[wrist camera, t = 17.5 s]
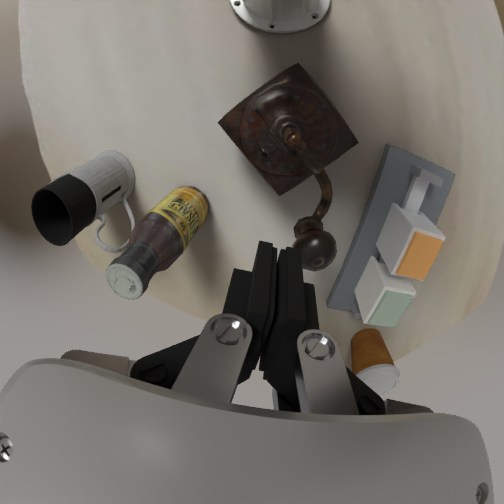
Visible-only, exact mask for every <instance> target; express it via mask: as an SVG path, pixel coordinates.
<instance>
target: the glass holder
mask: <svg viewBox="0 0 504 504" xmlns="http://www.w3.org/2000/svg"><path fill="white" fill-rule="evenodd" d="M134 185H135V173H134V170H133V167H132V165H131V163H130V161H129V160H128V159H127V158H126V157H125V156H124V155H123V154H122V153H120V152H117V151H114V150H108V151H104V152H102V153H100V154H99V155H98V156H97V157H96V158H95V159H93V160H91V161H89V162H87V163H85V164H83V165H81V166H79V167H77V168H75V169H73V170H71V171H69V172H67V173H65V174H63V175H62V176H60V177H58V178H56V179H54V180H53V181H52V182H51V183H49V184H48V185H47V186H45V187H43V188H41V189H40V190H38V191H37V192H36V193H35V195H34V196H33V199H32V205H31V208H32V216H33V220H34V223H35V225H36V227H37V229H38V230H39V232H40V233H41V235H42V236H43V237H44V238H45V239H46V240H47V241H49V242H50V243H52V244H54V245H57V246H63V245H65V244H67V243H68V242H69V241H70V240H71V239H73V238H74V237H75V236H76V235H77V234H78V233H79V232H80V231H82V230H83V229H84V228H85V227H87V226H89V225H90V224H92V223H93V222H94V221H95V220H96V219H99V220H101V222H102V223H101V224H100V225H99V226H98V228H97V229H96V232H95V241H96V243H97V245H98V246H99V247H100V248H102V249H104V250H105V251H108V252H113V253H117V252H121V251H122V250H124V249H125V248H126V247H127V246H128V244H129V239H128V240H127V242H126V243H125V244H124V245H123V246H121V247H117V248H116V247H110V246H108V245H106V244H104V243H103V242H102V241H101V240H100V239H99V236H98V232H99V231H100V230H101V229H102V228H103V226H104V225H105V218H104V217H103V216H102V214H104V213H105V212H106V211H107V210H108V209H110V208H111V207H112V206H113V205H115V204H116V203H117V202H121V201H123V204H124V206H125V208H126V210H127V212H128V215H129V217H130V220H131V226H132V229H131V231H132V230H133V228H134V226H135V219H134V216H133V213H132V211H131V209H130V207H129V204H128V202H127V200H126V199H127V198H128V197H129V196H130V195H131V193H132V191H133V189H134Z"/></svg>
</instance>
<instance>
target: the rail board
mask: <svg viewBox="0 0 504 504" xmlns="http://www.w3.org/2000/svg"><path fill="white" fill-rule="evenodd" d="M454 177H455V174H453V173H452V172H450V171H448V170H446V169H444V168H442V167H440V166H438V165H436V164H434V163H431V162H429V161H427V160H425V159H423V158H420V157H418V156H416V155H413V154H411V153H409V152H406V151H404V150H401V149H399V148H396V147H394V146H391V145H388V144H386V147H385V150H384V154H383V157H382V160H381V163H380V166H379V170H378V173H377V176H376V179H375V182H374V185H373V188H372V190H371V193H370V196H369V199H368V202H367V205H366V207H365V210H364V213H363V215H362V218H361V221H360V223H359V226H358V229H357V231H356V234H355V236H354V239H353V241H352V244H351V246H350V249H349V251H348V254H347V256H346V258H345V261H344V263H343V266H342V268H341V270H340V273H339V275H338V277H337V279H336V282H335V284H334V286H333V288H332V291H331V293H330V295H329V297H328V299H327V301H326V302H327V307H329V308H334V309H340V310H346V311H352V312H353V317H354V318H357V319H362V320H363V323H365V324H370V325H377V326H385V327H393V328H394V327H395V325H396V324H397V322H398V321H399V319H400V318H401V316H402V315H403V313H404V312H405V310H406V309H407V307H408V306H409V304H410V302H411V301H412V299H413V297H414V296H415V294H416V291H415V289H414V287H413V285H412V283H411V282H410V280H409V278H406V277H401V276H397V275H392V274H390V272H389V270H388V268H387V266H386V264H385V262H384V260H383V258H382V256H381V254H380V252H379V250H378V248H377V246H376V242H377V240H378V238H379V235H380V233H381V231H382V228H383V226H384V223H385V221H386V218H387V216H388V213H389V211H390V208H391V205H392V203H396V204H398V205H399V207H400V208H402V209H405V210H408V211H411V212H414V213H417V214H418V212H422V213H424V214H425V215H426V217H427V218H428V219H429V220H430V221H431V222H432V223H433V224H434V225H435V224H436V222H437V220H438V218H439V215H440V213H441V211H442V208H443V206H444V203H445V201H446V198H447V196H448V193H449V191H450V188H451V185H452V183H453V180H454Z"/></svg>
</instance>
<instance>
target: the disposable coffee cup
mask: <svg viewBox="0 0 504 504" xmlns="http://www.w3.org/2000/svg"><path fill="white" fill-rule="evenodd" d="M351 347H352V372H353V373H354V374H355V375H356V376H357V377H358V378H359V379H361V380H362V381H363V382H364V383H365V384H366V385H368V386H369V387H370V388H371V389H372V390H373V391H375V392H376V393H377V394H378V395H379V396H381V395H384V394H386V393H388V392H389V391H391V390H392V389H394V388H395V387H396V386H397V384H398V382H399V376H400V372H399V370H398V369H397V368H396V367H395V365H394V363H393V360H392V358H391V356H390V354H389V352H388V349H387V347H386V345H385V343H384V341H383V339H382V337H381V335H380V332H379V331H378V330H376V329H364V330H362V331H359V332H358V333H356V334H355V335H354V336H353V338H352V340H351Z"/></svg>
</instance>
